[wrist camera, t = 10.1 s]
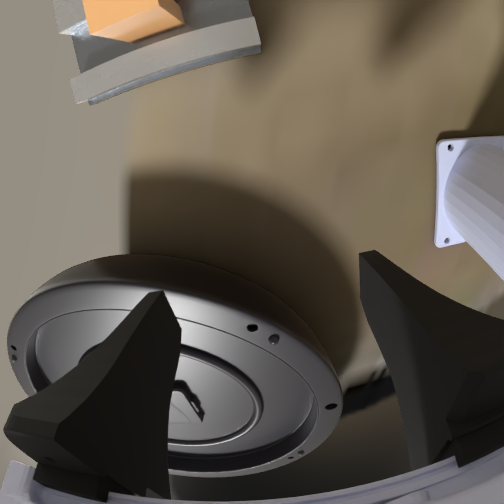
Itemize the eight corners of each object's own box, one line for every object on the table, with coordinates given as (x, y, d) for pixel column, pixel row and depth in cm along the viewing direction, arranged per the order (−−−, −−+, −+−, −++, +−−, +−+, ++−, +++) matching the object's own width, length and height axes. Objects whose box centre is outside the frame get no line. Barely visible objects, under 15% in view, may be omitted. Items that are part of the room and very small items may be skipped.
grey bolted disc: (122, 440, 38) (337, 423, 35) (114, 474, 33) (345, 465, 29) (-14, 274, 23) (308, 187, 20) (-47, 312, 18) (329, 232, 14)
